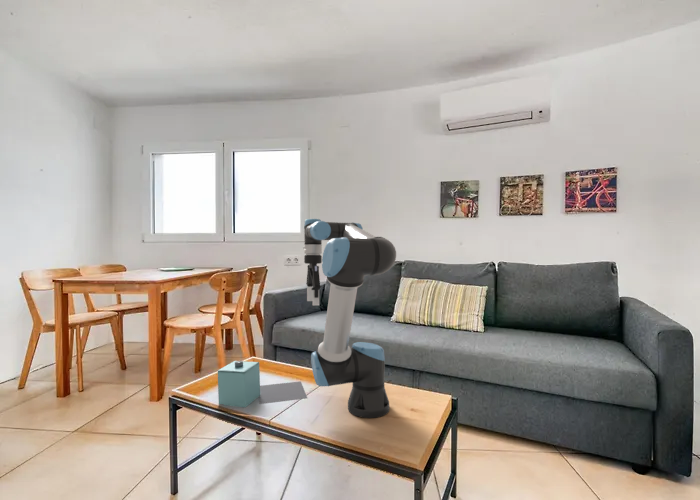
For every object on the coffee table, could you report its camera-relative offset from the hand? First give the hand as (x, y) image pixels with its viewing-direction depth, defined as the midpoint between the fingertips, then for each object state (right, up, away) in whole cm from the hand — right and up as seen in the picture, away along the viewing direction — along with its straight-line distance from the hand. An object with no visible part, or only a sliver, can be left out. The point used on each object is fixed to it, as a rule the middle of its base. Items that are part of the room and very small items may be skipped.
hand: (312, 303), depth 149 cm
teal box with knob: (-26, -34, -18) cm, 47 cm away
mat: (-11, -35, -11) cm, 38 cm away
